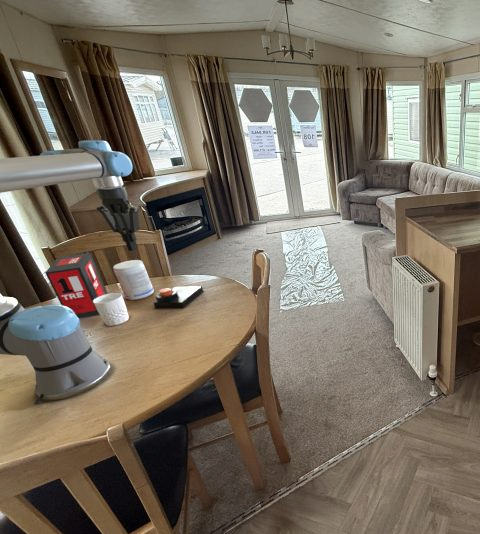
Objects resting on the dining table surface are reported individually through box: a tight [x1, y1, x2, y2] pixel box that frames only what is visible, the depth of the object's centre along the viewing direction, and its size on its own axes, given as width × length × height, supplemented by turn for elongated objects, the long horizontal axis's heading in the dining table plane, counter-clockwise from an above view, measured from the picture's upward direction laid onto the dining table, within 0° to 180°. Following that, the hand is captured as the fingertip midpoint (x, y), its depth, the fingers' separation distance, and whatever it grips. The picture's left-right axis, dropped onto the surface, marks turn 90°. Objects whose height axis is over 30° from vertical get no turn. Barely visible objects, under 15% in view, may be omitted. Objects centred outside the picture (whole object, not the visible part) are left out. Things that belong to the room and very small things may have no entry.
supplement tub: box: [112, 259, 155, 301], centre depth 142 cm, size 10×10×15 cm
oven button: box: [158, 287, 173, 297], centre depth 138 cm, size 4×4×2 cm
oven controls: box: [152, 285, 204, 309], centre depth 142 cm, size 14×11×4 cm
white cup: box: [93, 292, 130, 327], centre depth 125 cm, size 8×8×10 cm
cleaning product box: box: [44, 252, 109, 319], centre depth 131 cm, size 16×9×20 cm, turn 33°
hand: (133, 249), depth 128 cm, fingers closed
